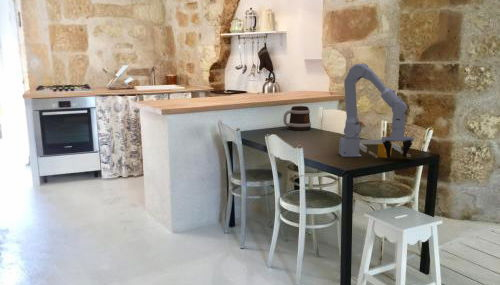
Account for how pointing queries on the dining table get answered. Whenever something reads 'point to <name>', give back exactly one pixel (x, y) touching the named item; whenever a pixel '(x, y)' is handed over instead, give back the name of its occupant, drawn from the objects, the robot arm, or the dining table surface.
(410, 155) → the slot guide
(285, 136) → the dining table surface
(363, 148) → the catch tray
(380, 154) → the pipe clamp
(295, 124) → the mug
